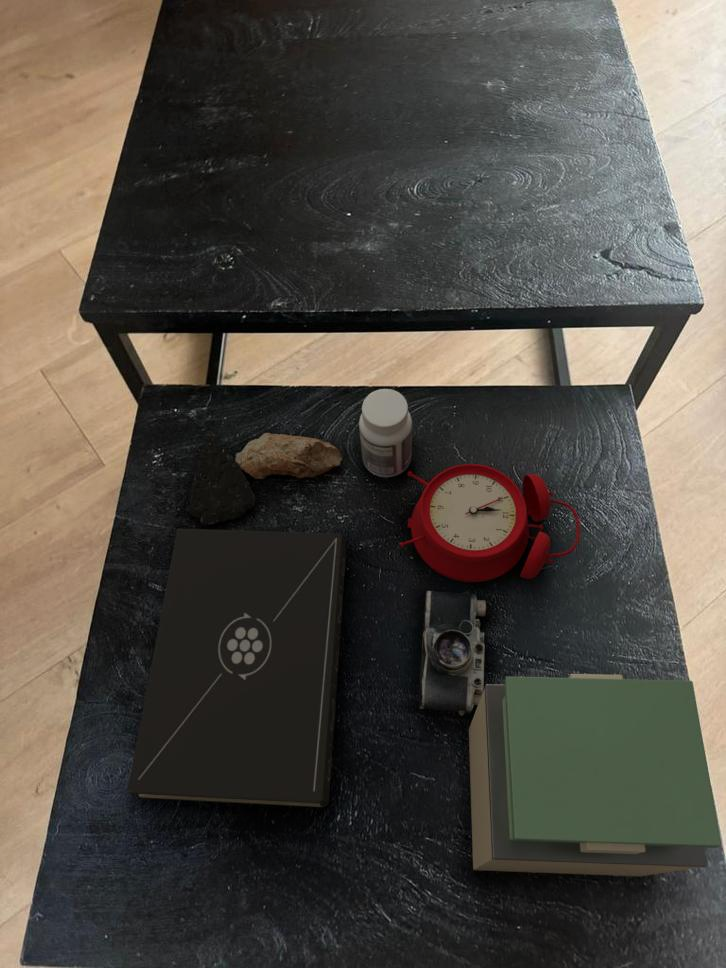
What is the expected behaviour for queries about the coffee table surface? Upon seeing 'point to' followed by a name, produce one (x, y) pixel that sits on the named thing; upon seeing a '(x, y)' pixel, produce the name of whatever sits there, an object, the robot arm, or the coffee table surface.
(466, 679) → the camera
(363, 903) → the coffee table surface
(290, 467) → the tan elongated rock
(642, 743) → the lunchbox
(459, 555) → the alarm clock
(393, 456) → the pill bottle
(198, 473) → the arrowhead
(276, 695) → the book
